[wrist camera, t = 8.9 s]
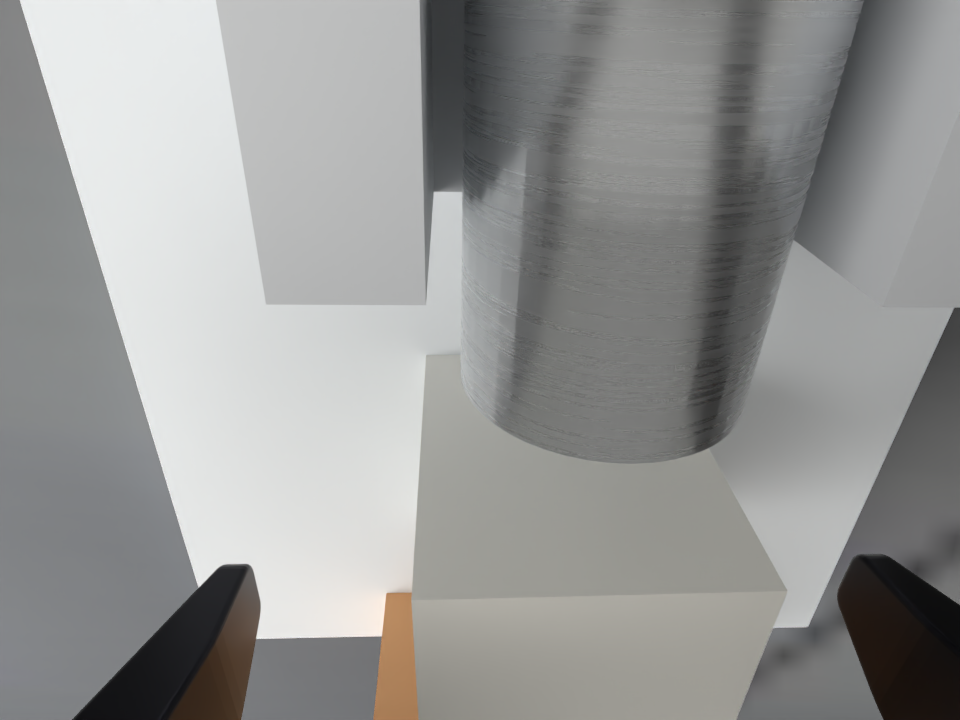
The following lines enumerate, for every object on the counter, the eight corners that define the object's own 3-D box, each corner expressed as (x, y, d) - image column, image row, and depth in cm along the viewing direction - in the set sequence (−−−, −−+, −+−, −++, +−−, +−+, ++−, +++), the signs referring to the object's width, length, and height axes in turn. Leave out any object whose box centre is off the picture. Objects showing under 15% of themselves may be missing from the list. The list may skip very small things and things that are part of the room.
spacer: (431, 523, 13) (422, 793, 9) (425, 355, 11) (410, 599, 7) (625, 519, 13) (711, 782, 9) (656, 353, 11) (788, 591, 7)
